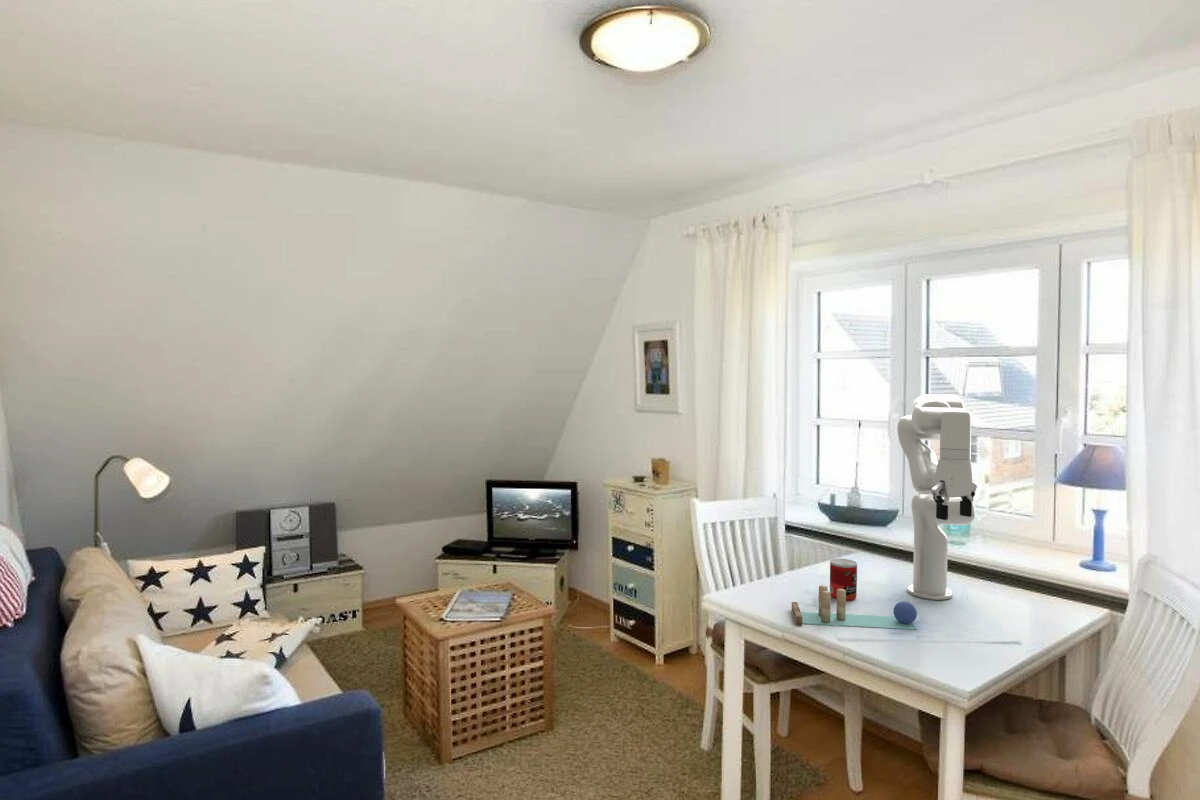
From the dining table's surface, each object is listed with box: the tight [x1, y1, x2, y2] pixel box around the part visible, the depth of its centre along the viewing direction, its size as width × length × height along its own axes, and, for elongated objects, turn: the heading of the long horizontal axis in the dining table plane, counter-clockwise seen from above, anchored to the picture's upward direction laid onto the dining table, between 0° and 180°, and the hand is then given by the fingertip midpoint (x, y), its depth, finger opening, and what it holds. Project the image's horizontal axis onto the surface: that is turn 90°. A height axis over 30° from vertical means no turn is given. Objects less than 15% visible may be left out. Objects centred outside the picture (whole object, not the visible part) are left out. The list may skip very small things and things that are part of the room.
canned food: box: [829, 558, 858, 602], centre depth 220 cm, size 8×8×11 cm
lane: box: [801, 611, 918, 631], centre depth 201 cm, size 9×30×1 cm, turn 81°
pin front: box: [835, 589, 847, 621], centre depth 201 cm, size 2×2×8 cm
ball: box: [892, 600, 918, 624], centre depth 198 cm, size 6×6×6 cm
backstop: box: [791, 601, 803, 627], centre depth 203 cm, size 12×2×2 cm, turn 171°
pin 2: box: [821, 590, 832, 623], centre depth 199 cm, size 2×2×8 cm
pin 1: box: [818, 584, 829, 616], centre depth 204 cm, size 2×2×8 cm
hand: (953, 517), depth 196 cm, fingers open, 9 cm apart
